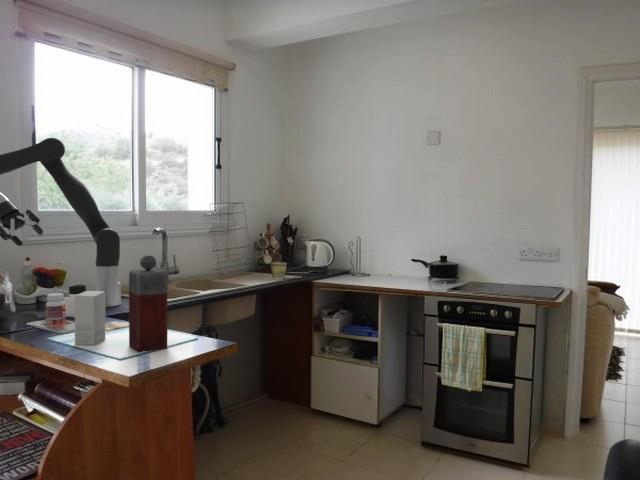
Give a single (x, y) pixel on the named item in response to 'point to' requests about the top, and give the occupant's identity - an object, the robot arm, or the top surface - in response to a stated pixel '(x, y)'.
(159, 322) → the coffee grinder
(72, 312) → the medicine bottle
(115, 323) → the coaster
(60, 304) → the pill bottle
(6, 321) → the top surface
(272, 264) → the ceramic cup
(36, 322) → the white rectangular panel
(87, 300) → the skincare box
